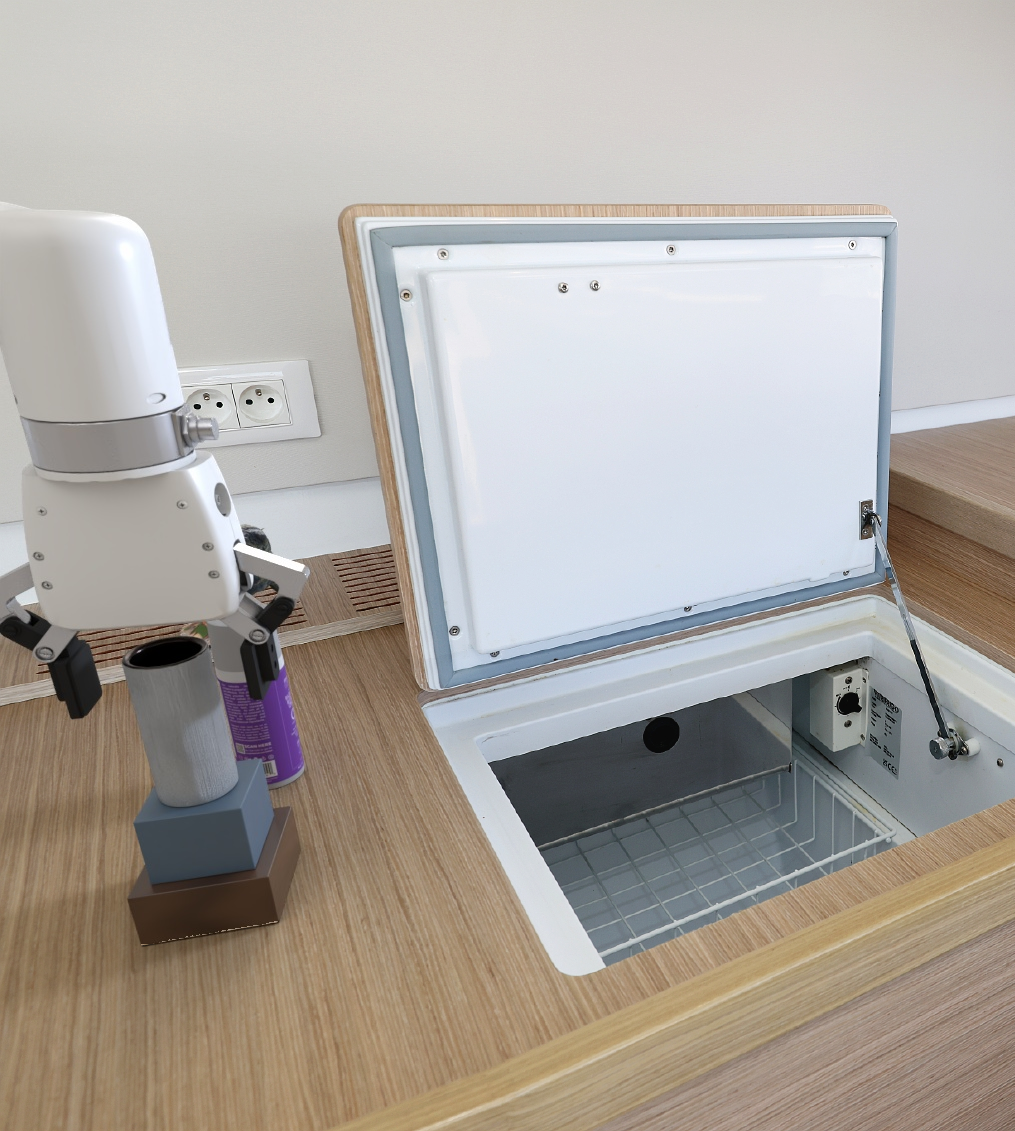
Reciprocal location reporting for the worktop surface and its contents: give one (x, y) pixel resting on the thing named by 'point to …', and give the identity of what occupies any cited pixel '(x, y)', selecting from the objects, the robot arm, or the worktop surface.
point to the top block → (207, 830)
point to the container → (257, 710)
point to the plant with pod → (259, 541)
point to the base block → (220, 892)
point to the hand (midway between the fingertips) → (177, 698)
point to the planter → (181, 720)
